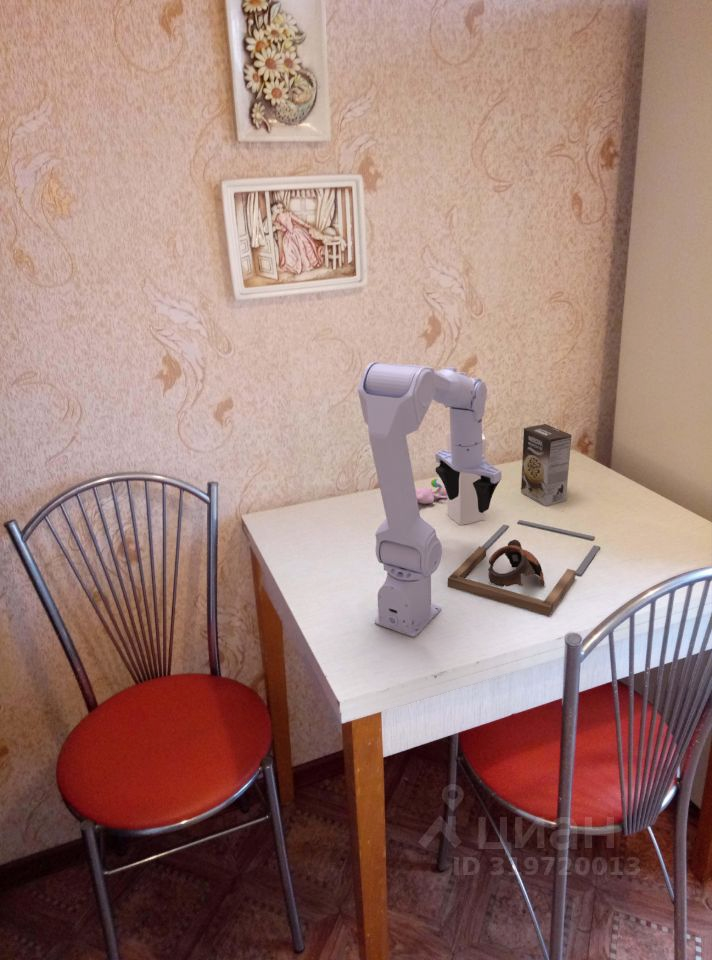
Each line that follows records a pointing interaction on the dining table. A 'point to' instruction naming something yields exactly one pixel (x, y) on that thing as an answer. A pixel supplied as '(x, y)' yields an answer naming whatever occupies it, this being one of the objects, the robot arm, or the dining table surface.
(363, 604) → the dining table surface
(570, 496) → the dining table surface
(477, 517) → the milk
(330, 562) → the dining table surface
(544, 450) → the coffee box
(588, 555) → the grey open frame
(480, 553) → the walnut holder
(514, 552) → the pottery mug
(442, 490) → the rabbit figure
